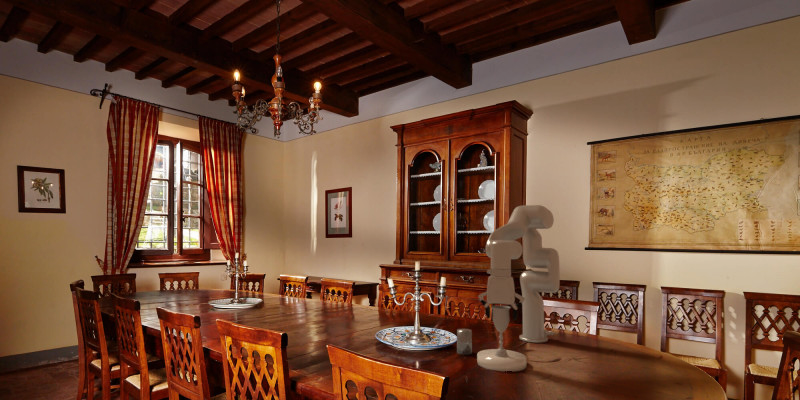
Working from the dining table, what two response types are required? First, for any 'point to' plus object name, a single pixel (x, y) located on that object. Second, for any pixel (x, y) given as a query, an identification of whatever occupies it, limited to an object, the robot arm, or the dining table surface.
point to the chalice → (501, 325)
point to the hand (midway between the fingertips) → (501, 318)
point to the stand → (501, 360)
